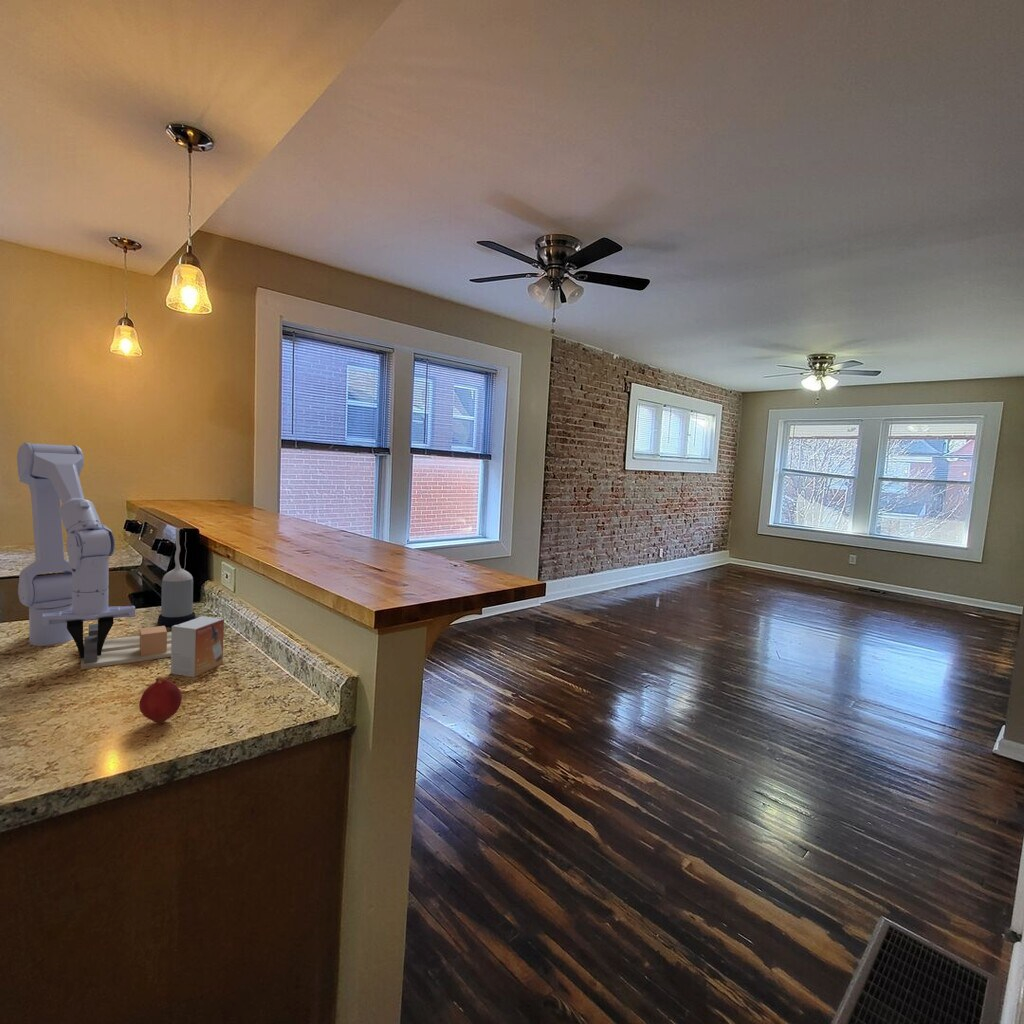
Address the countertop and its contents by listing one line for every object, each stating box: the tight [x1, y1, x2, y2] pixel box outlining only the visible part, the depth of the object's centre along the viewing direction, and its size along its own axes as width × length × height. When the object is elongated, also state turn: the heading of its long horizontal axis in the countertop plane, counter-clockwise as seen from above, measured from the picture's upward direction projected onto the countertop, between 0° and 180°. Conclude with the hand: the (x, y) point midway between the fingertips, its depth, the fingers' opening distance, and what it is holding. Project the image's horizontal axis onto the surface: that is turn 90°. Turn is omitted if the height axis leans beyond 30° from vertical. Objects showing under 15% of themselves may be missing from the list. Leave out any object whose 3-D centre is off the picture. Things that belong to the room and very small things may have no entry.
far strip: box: [88, 623, 172, 652], centre depth 119 cm, size 6×16×5 cm, turn 128°
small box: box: [170, 615, 225, 678], centre depth 108 cm, size 8×6×10 cm
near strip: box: [80, 635, 171, 670], centre depth 111 cm, size 6×16×5 cm, turn 128°
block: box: [139, 625, 168, 656], centre depth 114 cm, size 4×4×4 cm
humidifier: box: [156, 528, 197, 629], centre depth 134 cm, size 8×8×25 cm
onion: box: [138, 676, 183, 725], centre depth 88 cm, size 6×6×8 cm
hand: (90, 655), depth 107 cm, fingers closed on near strip, 2 cm apart
